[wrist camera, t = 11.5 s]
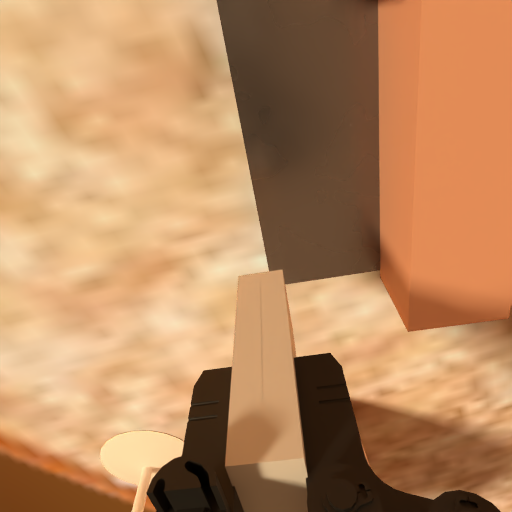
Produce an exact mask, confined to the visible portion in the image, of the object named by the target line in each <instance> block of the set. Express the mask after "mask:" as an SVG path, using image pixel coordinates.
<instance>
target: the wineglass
mask: <svg viewBox="0 0 512 512" xmlns="http://www.w3.org/2000/svg"><path fill="white" fill-rule="evenodd" d="M183 446H184V442H183V441H182V440H180V439H179V438H176V437H173V436H170V435H168V434H165V433H160V432H153V431H131V432H127V433H123V434H119V435H116V436H115V437H113V438H111V439H109V440H108V441H106V443H105V444H104V445H103V447H102V448H101V452H100V459H101V461H102V464H103V466H104V467H105V468H106V469H107V470H108V471H109V472H110V473H111V474H112V475H114V476H116V477H117V478H119V479H121V480H123V481H126V482H129V483H132V484H135V485H138V489H137V493H136V497H135V501H134V505H133V509H132V512H143V510H144V505H145V501H146V496H147V493H146V492H147V490H148V488H149V485H150V483H151V480H152V478H153V477H154V476H155V475H156V473H157V472H158V471H159V470H160V468H161V467H162V466H164V465H165V464H167V463H168V462H170V461H171V460H172V459H174V458H177V457H181V456H182V451H183Z"/></svg>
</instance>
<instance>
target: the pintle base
mask: <svg viewBox="0 0 512 512" xmlns="http://www.w3.org/2000/svg"><path fill="white" fill-rule="evenodd" d="M217 5H218V10H219V15H220V20H221V25H222V30H223V36H224V41H225V46H226V51H227V56H228V61H229V66H230V72H231V77H232V82H233V87H234V92H235V97H236V102H237V108H238V113H239V118H240V123H241V128H242V133H243V138H244V144H245V149H246V154H247V159H248V164H249V169H250V175H251V180H252V185H253V190H254V195H255V200H256V205H257V211H258V216H259V221H260V226H261V231H262V236H263V241H264V247H265V252H266V257H267V262H268V267H269V271H275V270H283V276H284V282H285V284H291V283H298V282H304V281H311V280H318V279H324V278H331V277H338V276H344V275H351V274H358V273H364V272H371V271H378V270H380V175H379V57H378V0H217Z"/></svg>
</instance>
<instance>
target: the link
mask: <svg viewBox="0 0 512 512" xmlns="http://www.w3.org/2000/svg"><path fill="white" fill-rule="evenodd" d="M378 57H379V175H380V278H381V280H382V281H383V283H384V285H385V287H386V289H387V291H388V293H389V295H390V297H391V299H392V301H393V303H394V305H395V307H396V309H397V311H398V313H399V315H400V317H401V319H402V321H403V323H404V325H405V327H406V329H407V331H408V332H410V331H417V330H425V329H432V328H440V327H447V326H455V325H462V324H470V323H477V322H485V321H492V320H500V319H507V318H509V314H510V309H511V304H512V0H378Z"/></svg>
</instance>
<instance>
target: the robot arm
mask: <svg viewBox="0 0 512 512" xmlns="http://www.w3.org/2000/svg"><path fill="white" fill-rule="evenodd" d="M188 419H189V422H188V423H187V429H186V434H185V440H184V446H183V451H182V456H181V457H177V458H174V459H172V460H171V461H170V462H168V463H167V464H165V465H164V466H162V467H161V468H160V470H159V471H158V472H157V473H156V475H155V476H154V477H153V478H152V480H151V483H150V485H149V488H148V490H147V492H146V493H147V495H148V497H149V499H150V500H151V502H152V504H153V505H154V507H155V509H156V510H157V511H156V512H500V511H499V510H498V509H497V508H496V507H495V506H494V505H493V504H492V503H491V502H489V501H487V500H486V499H484V498H482V497H480V496H479V495H477V494H474V493H470V492H465V491H461V490H456V491H449V492H444V493H443V494H441V495H440V496H439V497H437V498H436V499H434V500H432V499H428V498H424V497H420V496H416V495H412V494H407V493H404V492H401V491H399V490H396V489H393V488H392V487H390V486H388V485H387V484H385V483H384V482H383V481H381V480H380V479H379V478H378V477H377V476H376V475H375V474H374V472H373V471H372V469H371V468H370V466H369V465H368V462H367V460H366V457H365V454H364V450H363V447H362V443H361V439H360V435H359V431H358V427H357V424H356V420H355V416H354V412H353V408H352V404H351V401H350V397H349V393H348V389H347V386H346V381H345V378H344V374H343V370H342V366H341V365H340V364H339V363H338V362H337V360H336V359H335V358H334V357H333V356H332V355H331V353H326V354H318V355H310V356H303V357H296V351H295V343H294V335H293V328H292V322H291V317H290V311H289V305H288V299H287V293H286V287H285V282H284V276H283V270H275V271H269V272H262V273H256V274H249V275H243V276H239V277H238V291H237V305H236V319H235V333H234V347H233V361H232V367H227V368H220V369H212V370H204V371H203V373H202V374H201V376H200V377H199V379H198V381H197V382H196V384H195V385H194V389H193V395H192V400H191V407H190V412H189V417H188Z"/></svg>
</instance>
